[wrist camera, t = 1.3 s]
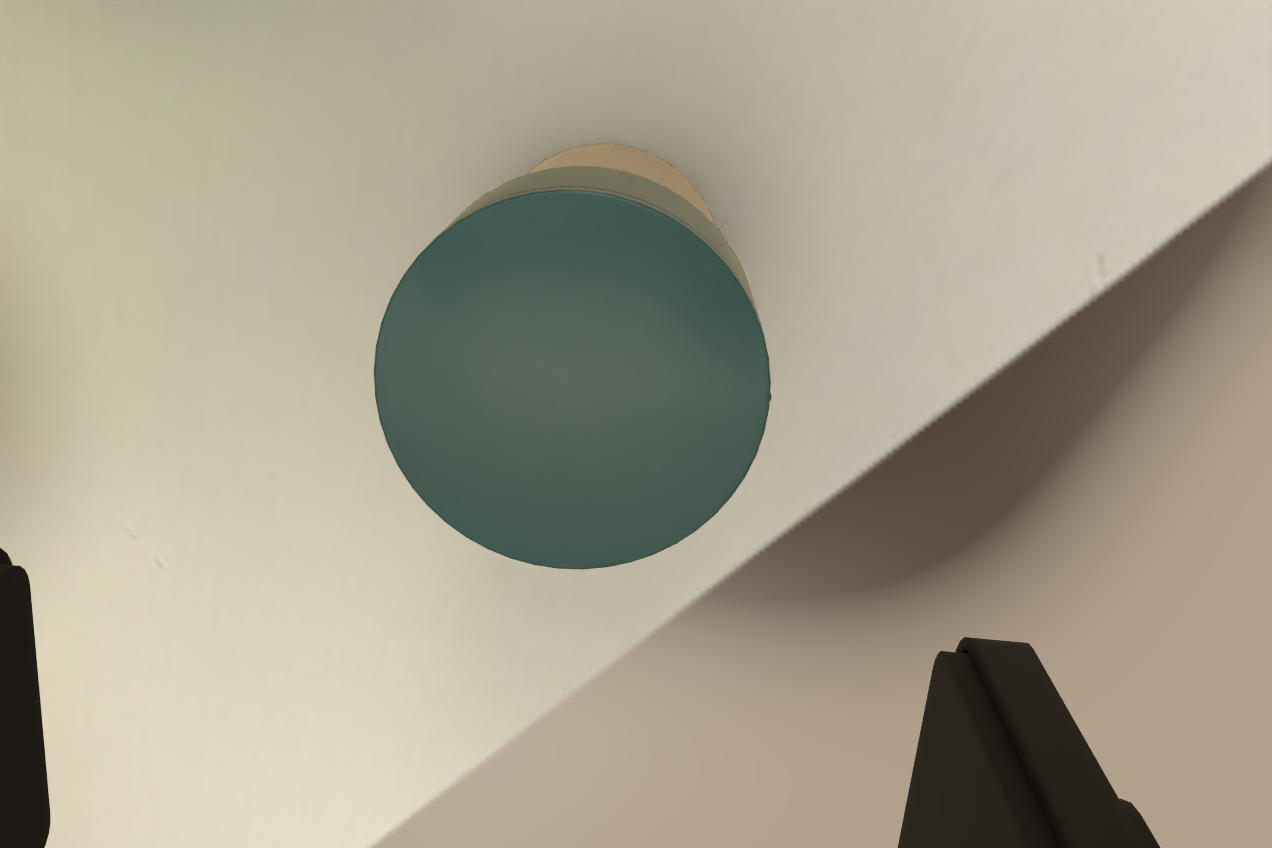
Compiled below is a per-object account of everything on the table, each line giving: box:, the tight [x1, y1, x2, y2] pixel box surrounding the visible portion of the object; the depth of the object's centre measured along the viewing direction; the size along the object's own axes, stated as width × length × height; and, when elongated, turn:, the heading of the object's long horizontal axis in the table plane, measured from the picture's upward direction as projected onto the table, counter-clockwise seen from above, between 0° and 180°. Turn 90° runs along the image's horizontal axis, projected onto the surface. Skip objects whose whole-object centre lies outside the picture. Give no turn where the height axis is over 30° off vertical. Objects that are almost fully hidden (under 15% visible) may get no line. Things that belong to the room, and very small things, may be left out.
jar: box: [528, 144, 715, 226], centre depth 26 cm, size 6×6×11 cm
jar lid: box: [374, 166, 771, 569], centre depth 22 cm, size 7×7×3 cm
